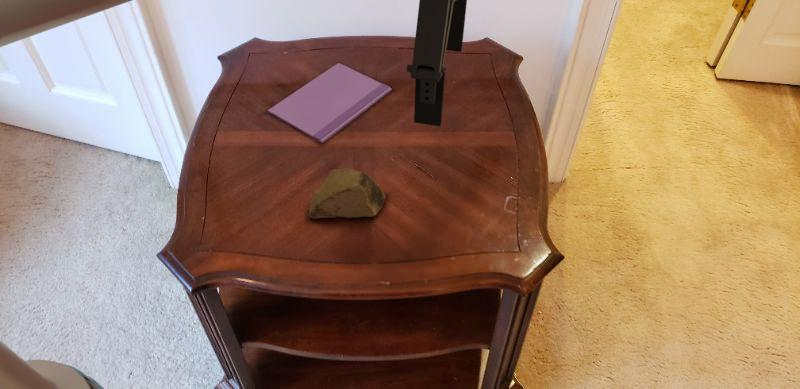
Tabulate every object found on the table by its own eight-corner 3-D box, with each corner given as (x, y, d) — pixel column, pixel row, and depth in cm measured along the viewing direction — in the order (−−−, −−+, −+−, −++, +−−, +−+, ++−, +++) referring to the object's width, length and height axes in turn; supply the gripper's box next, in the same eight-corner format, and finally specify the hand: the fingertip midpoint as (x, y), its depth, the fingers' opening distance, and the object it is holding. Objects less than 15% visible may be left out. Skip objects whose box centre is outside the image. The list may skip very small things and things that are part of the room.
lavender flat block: (322, 143, 90) (322, 140, 90) (268, 112, 96) (267, 109, 95) (391, 90, 100) (391, 87, 99) (338, 64, 105) (338, 61, 105)
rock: (290, 221, 76) (354, 235, 73) (295, 159, 75) (361, 171, 71) (328, 209, 86) (387, 221, 83) (334, 155, 85) (393, 165, 81)
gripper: (481, -64, 36) (455, 166, 52) (515, -173, 53) (487, 27, 68) (370, -75, 37) (378, 153, 53) (437, -179, 54) (428, 20, 69)
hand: (439, 83), depth 61 cm, fingers open, 13 cm apart
